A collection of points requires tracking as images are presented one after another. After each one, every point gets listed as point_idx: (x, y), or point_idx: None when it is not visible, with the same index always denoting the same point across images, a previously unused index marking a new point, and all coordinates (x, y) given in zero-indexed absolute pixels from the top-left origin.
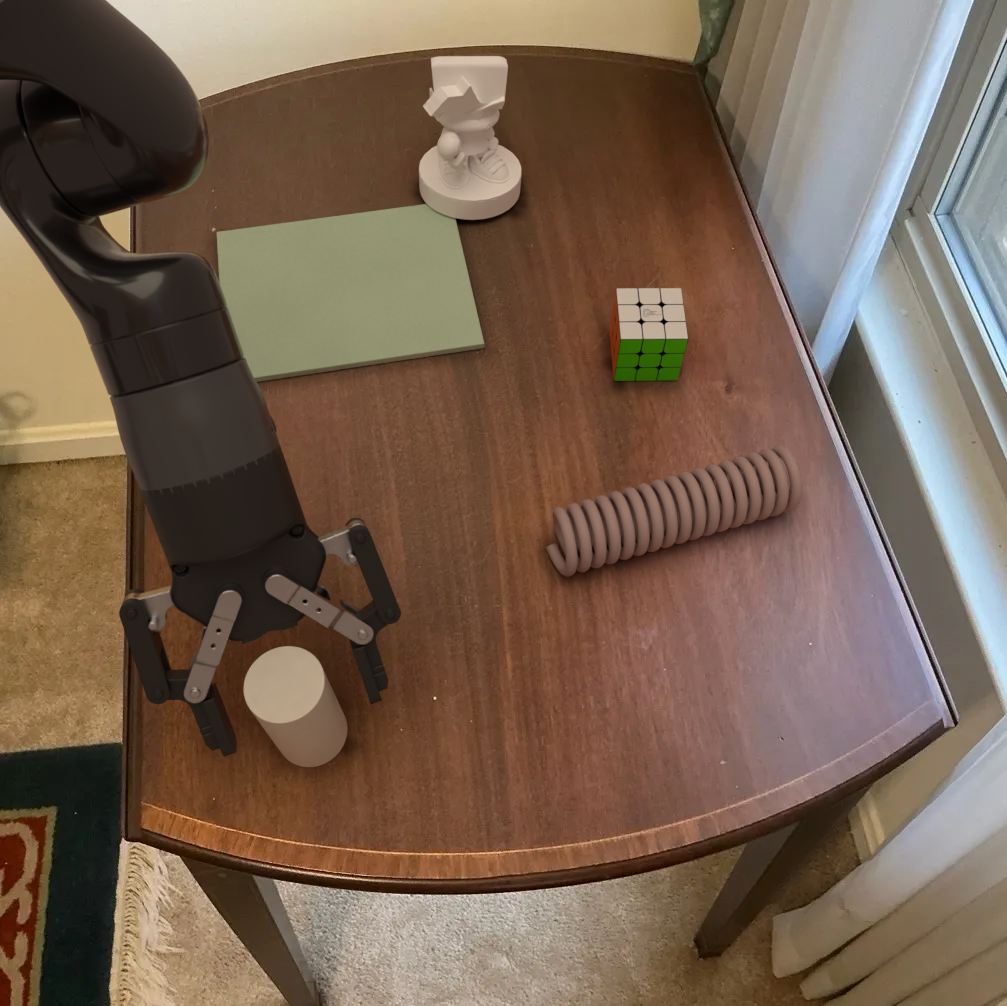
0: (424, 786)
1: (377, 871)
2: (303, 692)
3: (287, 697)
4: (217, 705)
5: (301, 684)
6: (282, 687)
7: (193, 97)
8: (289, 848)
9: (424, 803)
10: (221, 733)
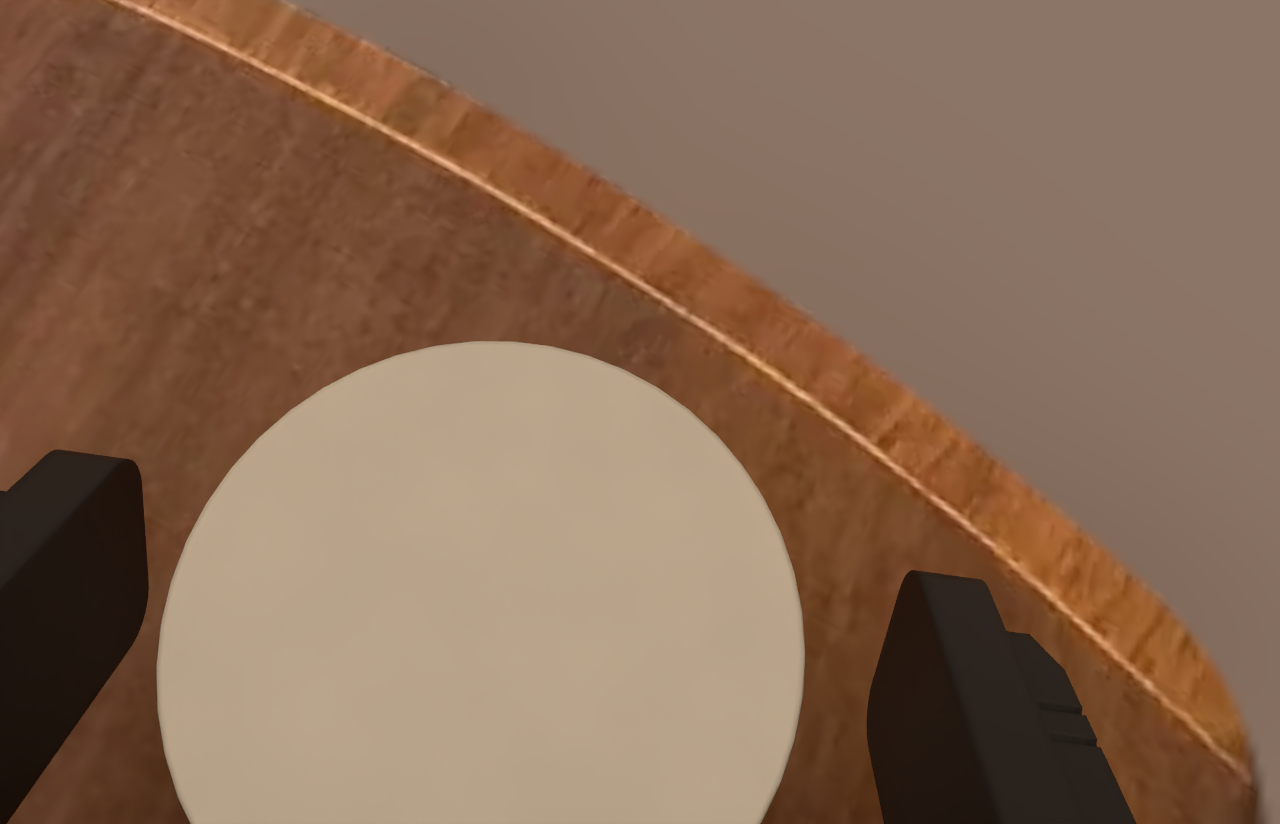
0: (239, 305)
1: (531, 144)
2: (386, 498)
3: (510, 524)
4: (979, 795)
5: (370, 562)
6: (510, 610)
7: None
8: (773, 347)
9: (273, 254)
10: (976, 656)
